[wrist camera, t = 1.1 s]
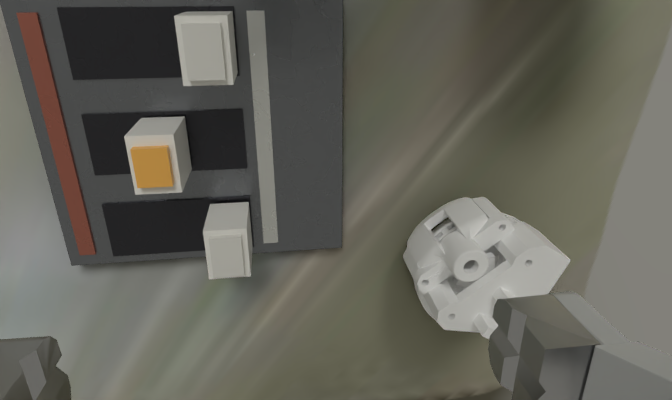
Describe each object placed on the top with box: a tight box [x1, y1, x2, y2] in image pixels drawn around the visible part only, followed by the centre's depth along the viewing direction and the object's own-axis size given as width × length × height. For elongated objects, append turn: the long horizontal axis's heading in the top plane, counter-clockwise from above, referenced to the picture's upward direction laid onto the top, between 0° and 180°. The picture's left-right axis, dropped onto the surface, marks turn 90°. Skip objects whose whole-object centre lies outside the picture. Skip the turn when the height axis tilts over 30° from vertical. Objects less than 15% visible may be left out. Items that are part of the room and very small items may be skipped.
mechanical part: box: [403, 197, 571, 339], centre depth 39 cm, size 11×12×12 cm
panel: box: [0, 0, 343, 266], centre depth 36 cm, size 20×22×2 cm
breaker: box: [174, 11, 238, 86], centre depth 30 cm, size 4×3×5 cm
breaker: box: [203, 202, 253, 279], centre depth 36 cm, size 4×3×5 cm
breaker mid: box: [124, 116, 192, 195], centre depth 32 cm, size 4×3×5 cm
